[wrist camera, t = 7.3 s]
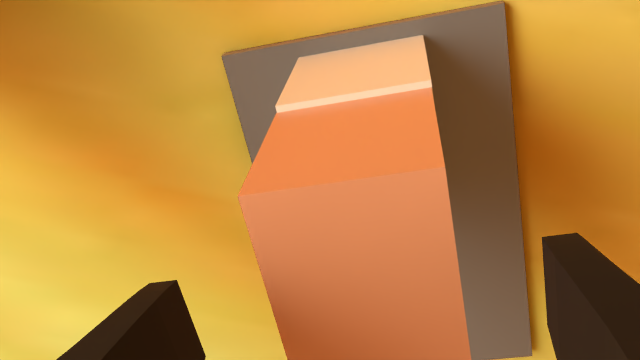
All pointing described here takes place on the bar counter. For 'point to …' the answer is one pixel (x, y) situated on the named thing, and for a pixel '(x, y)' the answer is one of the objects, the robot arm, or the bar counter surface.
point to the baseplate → (457, 145)
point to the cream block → (357, 74)
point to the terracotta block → (358, 231)
